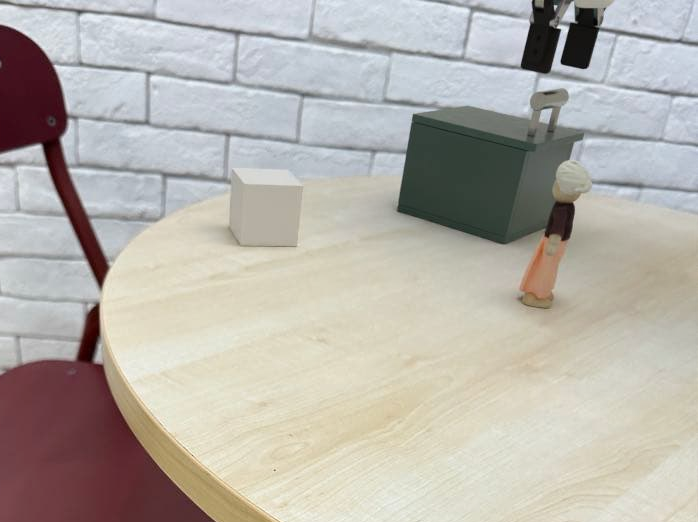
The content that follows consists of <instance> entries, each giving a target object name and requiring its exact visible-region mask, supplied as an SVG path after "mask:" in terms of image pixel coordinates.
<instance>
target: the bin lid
mask: <svg viewBox="0 0 698 522" xmlns="http://www.w3.org/2000/svg"><path fill="white" fill-rule="evenodd" d="M569 97H570V94H569V91H568V90H567V89H566V88H563V87H561V88H555V89H547V90H540V91H536V92H534V93H533V94H532V95H531V97H530V99H529V105H530V107H531V109H532V113H531V118H530V119H527V118H523V117H519V116H515V115H511V114H505V113H502V112H497V111H493V110H489V109H484V108H481V107H476V106H471V105H461V106H454V107H449V108H443V109H435V110H430V111H429V110H428V111H423V112H422V111H421V112H416V113H413V114H412V117H411V122H416V123H420V124H424V125H428V126H432V127H436V128H440V129H444V130H448V131H452V132H456V133H460V134H464V135H468V136H471V137H475V138H479V139H483V140H487V141H491V142H495V143H499V144H503V145H507V146H511V147H515V148H519V149H523V150H527V151H531V152H538V151H542V150H546V149H549V148H553V147H557V146H561V145H565V144H569V143H573V142H574V143H576V142H580V141H583V140H584V137H585V132H584V131H579V130H574V129H570V128H566V127H562V126H557V124H558V121H559V116H560V112H561V109H562V107H564V106H565V105H567V103H568V101H569ZM543 110H551V112H550V118H549V121H548V123H544V122H540V119H541V115H542V111H543Z"/></svg>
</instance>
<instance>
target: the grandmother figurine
mask: <svg viewBox="0 0 698 522" xmlns="http://www.w3.org/2000/svg"><path fill="white" fill-rule="evenodd" d="M556 178H557V179H556V180H555V182H554V185H553V196H554V198H555V199H556V200H557V201H556V202H555V204H554V205H553V208H552V210H551V213H550V216H549V220H548V224H547V227H545V230H544V232H543V235H542V237H541V239H540V241H538V244H537V246H536V247H535V250H534V252H533V254H532V256H531V258H530V260H529V263H528V264H527V266H526V269H525V271H524V273H523V276H522V278H521V281H520V284H519V287H518V290H519V291H520V292H521V293H524V296H523V297H522V299H521V302H522V304H524V305H526V306H529V307H535V308H542V309H550V308H551V306H552V301H553V300H554V297H555V296H554V294H553V292H552V290H554V289H555V285H556V281H557V277H558V269H559V265H560V263H561V261H562V259H563V257H564V254H565V251H566V249H567V246H568V242H569V240H570V238H571V235H572V232H573V227H574V220H575V214H576V206H575V203H574V202H576V201H577V200H578V199H579V198H580V196H581V195H582V194H587V193H589V192H590V191H591V190H592V187H593V182H592V180H591V174H590V171H589V170H588V168H586V166H584V164H583V163H582V162H580V161H578V160H576V159H570V160H568V161H564V162H563V163H562V164H561V165H560V166H558V169H557V172H556Z"/></svg>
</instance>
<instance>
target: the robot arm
mask: <svg viewBox="0 0 698 522" xmlns="http://www.w3.org/2000/svg"><path fill="white" fill-rule="evenodd" d="M615 1H616V0H531V8H532V10H531V12H530V15H529V19H528V20H529V21H528V22H529V28H528V30H527V31H528V32H527V36H526V39H525V45H524V49H523V53H522V57H521V62H520V68H521V70H524V71H529V72H535V73H539V74H544V75H546V74H547V75H548V74H549V73H551V70H552V67H553V63H554V59H555V57H556V56H555V55H556V51H557V48H558V44H559V40H560V36H561V32H562V29H561V28H558V27H559V26H560V23H561V22H562V20H563V18H564V16H565V14H566V12H567V11H568V9H569V7H570V6H571V3H573V6H574V7H573V9H574V12H573V13H574V22H570V23H569V25H568V29H567V34H566V38H565V42H564V44H563V45H564V46H563V48H562V49H563V50H562V53H561V57H560V61H559V62H560V65H562V66H565V67H570V68H575V69H579V70H587V69H589V67H590V65H591V60H592V57H593V53H594V50H595V47H596V44H597V43H596V42H597V39H598V36H599V32H600V28H601V26H602V25H603V23H604V18H605V12H606V10H607V8H609V7H610V6H611V5H613V3H614V2H615ZM555 7H556V8H555Z"/></svg>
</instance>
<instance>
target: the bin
mask: <svg viewBox="0 0 698 522" xmlns="http://www.w3.org/2000/svg"><path fill="white" fill-rule="evenodd" d="M574 145H575V142H573V143H569V144H565V145H561V146H557V147H553V148H549V149H546V150H542V151H538V152H531V151H527V150H523V149H519V148H515V147H511V146H507V145H503V144H499V143H495V142H491V141H487V140H483V139H479V138H475V137H471V136H468V135H464V134H460V133H456V132H452V131H448V130H444V129H440V128H436V127H432V126H428V125H424V124H420V123H416V122H412V121H411V123H410V128H409V135H408V141H407V148H406V153H405V159H404V166H403V171H402V176H401V181H400V188H399V195H398V200H397V201H398V202H397V209H396V211H397V212H401V213H404V214H406V215H409V216H412V217H417V218H419V219H423V220H426V221H428V222H432V223H436V224H438V225H441V226H445V227H448V228H451V229H455V230H458V231H461V232H463V233H468V234H470V235H474V236H477V237H480V238H484V239H487V240H490V241H493V242H496V243H499V244H502V245H505V244H508V243H510V242H512V241H515V240H518V239H520V238H522V237H525V236H528V235H530V234H532V233H535V232H538V231H540V230H543V229H546V227H547V224H548V220H549V216H550V213H551V210H552V208H553V205H554V204H555V202H556V201H557V200H556V199H555V198H554V196H553V185H554V182H555V180H556V179H557V178H556V172H557V169H558V166H560V165H561V164H562V163H563V162H564V161H568V160H571V156H572V152H573V148H574Z"/></svg>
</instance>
